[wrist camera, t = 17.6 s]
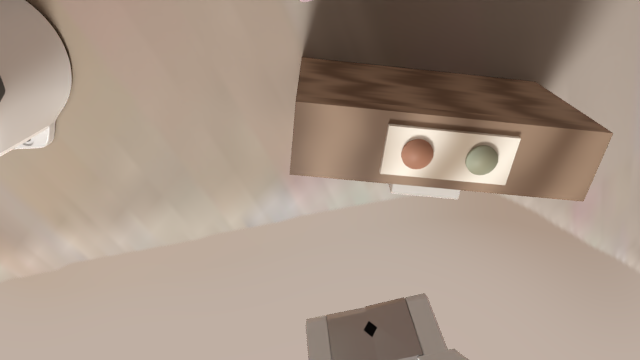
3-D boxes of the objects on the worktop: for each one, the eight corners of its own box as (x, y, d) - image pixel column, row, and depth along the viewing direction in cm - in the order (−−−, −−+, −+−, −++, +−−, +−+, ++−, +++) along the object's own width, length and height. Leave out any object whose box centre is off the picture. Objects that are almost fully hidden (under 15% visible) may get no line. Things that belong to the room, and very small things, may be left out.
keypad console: (297, 114, 48) (289, 178, 35) (301, 57, 45) (295, 104, 32) (517, 135, 49) (587, 205, 36) (535, 81, 47) (618, 136, 34)
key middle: (382, 163, 45) (391, 193, 40) (390, 121, 43) (400, 146, 38) (441, 169, 46) (457, 199, 40) (452, 127, 44) (470, 153, 38)
